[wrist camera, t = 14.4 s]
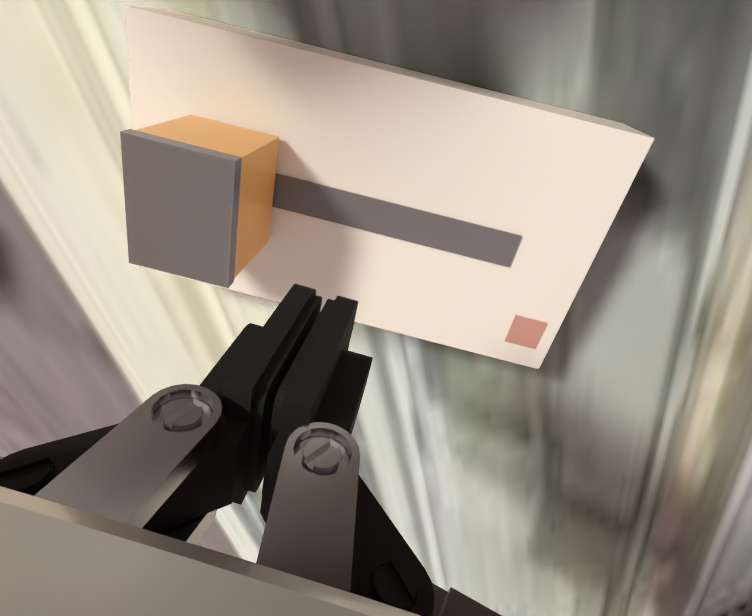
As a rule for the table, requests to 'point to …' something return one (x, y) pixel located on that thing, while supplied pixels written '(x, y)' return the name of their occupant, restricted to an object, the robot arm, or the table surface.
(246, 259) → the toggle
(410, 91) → the slider base
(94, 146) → the table surface
